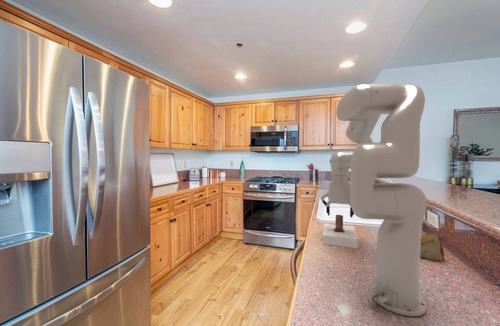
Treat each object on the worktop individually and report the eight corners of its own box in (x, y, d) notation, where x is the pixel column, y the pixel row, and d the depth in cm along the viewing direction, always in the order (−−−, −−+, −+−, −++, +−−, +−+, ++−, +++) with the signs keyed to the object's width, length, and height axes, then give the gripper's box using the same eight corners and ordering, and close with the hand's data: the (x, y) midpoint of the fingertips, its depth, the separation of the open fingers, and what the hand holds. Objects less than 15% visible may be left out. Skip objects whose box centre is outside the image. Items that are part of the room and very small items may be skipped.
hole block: (357, 248, 91) (357, 239, 91) (322, 244, 96) (322, 235, 96) (353, 234, 108) (353, 226, 108) (324, 230, 113) (324, 223, 113)
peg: (339, 240, 100) (339, 216, 100) (333, 238, 103) (334, 215, 103) (344, 239, 101) (344, 216, 101) (338, 237, 104) (339, 214, 104)
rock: (404, 251, 84) (438, 257, 76) (406, 230, 88) (438, 233, 80) (414, 261, 89) (446, 268, 81) (415, 241, 92) (446, 245, 85)
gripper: (359, 179, 101) (359, 215, 102) (320, 177, 108) (320, 212, 108) (361, 180, 94) (361, 219, 95) (319, 179, 101) (319, 216, 101)
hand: (339, 215), depth 101 cm, fingers open, 9 cm apart
